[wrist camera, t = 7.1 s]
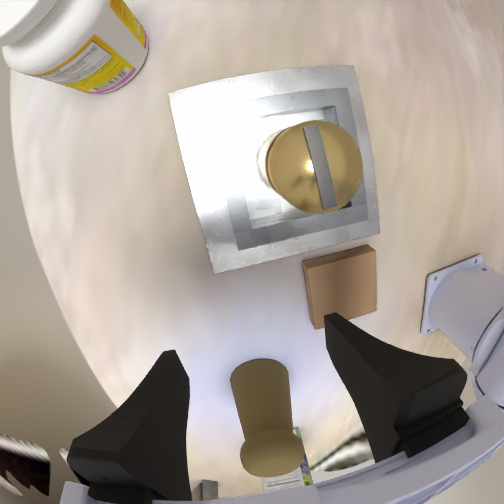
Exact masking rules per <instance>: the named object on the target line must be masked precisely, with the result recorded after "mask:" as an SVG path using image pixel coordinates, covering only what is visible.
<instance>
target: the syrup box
mask: <svg viewBox="0 0 504 504" xmlns="http://www.w3.org/2000/svg"><path fill="white" fill-rule="evenodd" d="M293 433H294V434H295V435H297V436H298V438H299V439H300V441H301V442H302V438H301V434H300V430H299V428H295V429H293ZM302 444H303V442H302ZM303 447H304V446H303ZM262 480H263V487H264V493H266V492H272V491H277V490H283V489H287V488H294V487H300V486H308V485H312V484H313V481H312V477H311V473H310V469H309V465H308V461H307V458H306V454H305V450H304V459H303V462H302V464H301V465H300V466H299V467H298V468H297V469H296V470H294V471H292V472H291V473H288V474H286V475H282V476H277V477H262Z"/></svg>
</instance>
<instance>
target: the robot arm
mask: <svg viewBox="0 0 504 504" xmlns="http://www.w3.org/2000/svg"><path fill="white" fill-rule="evenodd" d="M324 326H325V337H326V348H327V350H328V353H329V355H330V358H331V360H332V363H333V365H334V367H335V369H336V371H337V372H338V374H339V376H340V378H341V380H342V381H343V383H344V385H345V387H346V389H347V390H348V392H349V394H350V396H351V398H352V400H353V402H354V404H355V406H356V409H357V411H358V414H359V416H360V419H361V421H362V424H363V427H364V430H365V432H366V435H367V438H368V441H369V444H370V447H371V450H372V453H373V457H374V460H375V463H376V464H373V465H371V466H368V467H365V468H363V469H360V470H357V471H355V472H352V473H349V474H346V475H343V476H340V477H337V478H333V479H330V480H327V481H323V482H320V483H316V484H312V485H308V486H300V487H294V488H287V489H283V490H277V491H272V492H266V493H260V494H253V495H245V496H237V497H226V498H219V499H212V500H207V501H193V500H192V495H191V490H190V483H189V475H188V466H187V453H186V430H187V420H188V410H189V400H190V385H189V377H188V375H187V373H186V371H185V369H184V367H183V365H182V363H181V361H180V359H179V357H178V355H177V353H176V351H175V350H169V351H163V353H162V354H161V355H160V357H159V358H158V359H157V361H156V362H155V364H154V365H153V367H152V368H151V370H150V371H149V372H148V374H147V375H146V377H145V378H144V379H143V381H142V382H141V383H140V384H139V386H138V387H137V388H136V389H135V391H134V392H133V393H132V394H131V395H130V397H129V398H128V399H127V400H126V401H125V402H124V403H123V404H122V405H121V406H120V407H119V408H118V409H117V410H116V411H114V412H113V413H112V414H111V415H110V416H109V417H108V418H106V419H105V420H104V421H102V422H101V423H100V424H98V425H97V426H96V427H94V428H92V429H91V430H89V431H87V432H85V433H84V434H82V435H80V436H78V437H77V438H74V439H73V441H72V444H71V447H70V450H69V453H68V456H67V462H68V464H69V465H70V467H71V468H72V469H74V470H75V471H76V472H77V473H79V474H80V475H81V476H82V477H84V478H85V479H86V480H88V481H89V482H90V486H89V487H87V486H85V485H82V484H78V483H73V482H69V481H66V482H65V485H64V489H63V493H62V496H61V500H60V504H423V503H425V502H427V501H428V500H430V499H432V498H434V497H435V496H437V495H438V494H440V493H441V492H443V491H444V490H446V489H448V488H449V487H451V486H452V485H454V484H455V483H456V482H458V481H459V480H461V479H462V478H464V477H465V476H467V475H468V474H469V473H471V472H472V471H473V470H475V469H476V468H477V467H479V466H480V465H481V464H482V463H484V462H485V461H486V460H488V459H489V458H490V457H491V456H492V455H493V454H494V453H495V452H496V451H497V450H498V449H499V447H500V446H501V445H502V444H503V443H504V276H503V275H502V274H500V273H499V272H497V271H495V270H494V269H492V268H490V267H489V266H487V265H485V264H484V263H483V256H482V255H481V254H479V255H477V256H475V257H472V258H470V259H467V260H465V261H463V262H460V263H458V264H455V265H453V266H450V267H448V268H445V269H443V270H440V271H438V272H435V273H432V274H430V275H429V276H428V278H427V286H426V296H425V305H424V313H423V320H422V326H421V334H422V335H426V334H428V333H430V332H432V331H435V330H437V329H439V330H440V331H441V332H442V333H443V334H444V335H445V336H446V337H447V338H448V339H449V340H450V341H451V342H452V343H453V344H454V345H455V346H456V347H457V348H458V349H459V350H460V351H461V352H462V353H463V354H464V355H465V356H466V357H467V358H468V359H469V360H470V361H471V363H472V365H471V367H470V371H471V372H472V373H473V374H474V375H475V376H474V377H473V379H472V387H473V390H474V394H475V396H476V398H477V401H476V402H475V403H473V404H472V405H470V406H469V407H468V408H467V409H466V410H465V411H464V409H463V408H462V405H463V401H462V400H461V399H460V395H461V393H462V391H463V389H464V387H465V384H466V381H467V373H466V372H465V371H464V369H463V368H462V367H461V366H460V365H459V364H458V363H457V362H456V361H455V360H454V359H446V358H436V357H430V356H425V355H420V354H416V353H413V352H409V351H406V350H403V349H400V348H397V347H395V346H392V345H390V344H388V343H385V342H383V341H381V340H379V339H377V338H375V337H373V336H372V335H370V334H368V333H366V332H365V331H363V330H362V329H360V328H358V327H357V326H355V325H354V324H352V323H351V322H349V321H348V320H347V319H345V318H344V317H342V316H341V315H339V314H338V313H336V312H334V313H331V314H327V315H324Z"/></svg>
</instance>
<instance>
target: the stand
mask: <svg viewBox="0 0 504 504" xmlns="http://www.w3.org/2000/svg"><path fill="white" fill-rule="evenodd" d="M302 263H303V269H304V276H305V282H306V289H307V296H308V303H309V311H310V318H311V322H312V324H313V326H314V328H315V330H316V329H320V328H323V327H325V326H324V315H327V314H331V313H334V312H336V313H338V314H339V315H341V316H342V317H344V318H345V319H347V320H350V319H353V318H356V317H359V316H362V315H365V314H368V313H371V312H374V311H376V302H377V278H376V250H374V249H373V248H371V247H370V246H369V245H364V246H361V247H357V248H353V249H349V250H345V251H341V252H338V253H334V254H330V255H326V256H322V257H318V258H314V259H310V260H306V261H302Z"/></svg>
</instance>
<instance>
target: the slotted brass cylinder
mask: <svg viewBox="0 0 504 504" xmlns="http://www.w3.org/2000/svg"><path fill="white" fill-rule="evenodd" d="M258 163H259V170H260V173H261V176H262V178H263V180H264V181H265V182H266V184H267V185H268V186H269V187H270V188H271V189H273V190H274V191H275V192H276V193H277V194H279V195H280V196H281V197H282V198H284V199H285V200H286V201H287V202H288V203H290V204H291V205H292V206H294V207H295V208H297V209H299V210H301V211H303V212H306V213H311V214H326V213H331V212H333V211H336V210H338V209H340V208H342V207H343V206H344V205H346V204H347V203H348V202H349V201H350V200H351V199H352V198H353V197H354V195H355V194H356V192H357V190H358V188H359V186H360V183H361V180H362V175H363V161H362V156H361V152H360V150H359V147H358V145H357V143H356V142H355V140H354V139H353V137H352V136H351V135H350V134H349V133H348V132H347V131H346V130H344V129H343V128H342V127H340V126H338V125H336V124H334V123H332V122H328V121H323V120H311V121H306V122H302V123H299V124H296V125H294V126H291V127H288V128H285V129H282V130H279V131H277V132H275V133H274V134H272V135H271V136H270V137H269V138H268V139H267V140H266V141H265V142H264V144H263V146H262V148H261V150H260V153H259V161H258Z"/></svg>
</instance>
